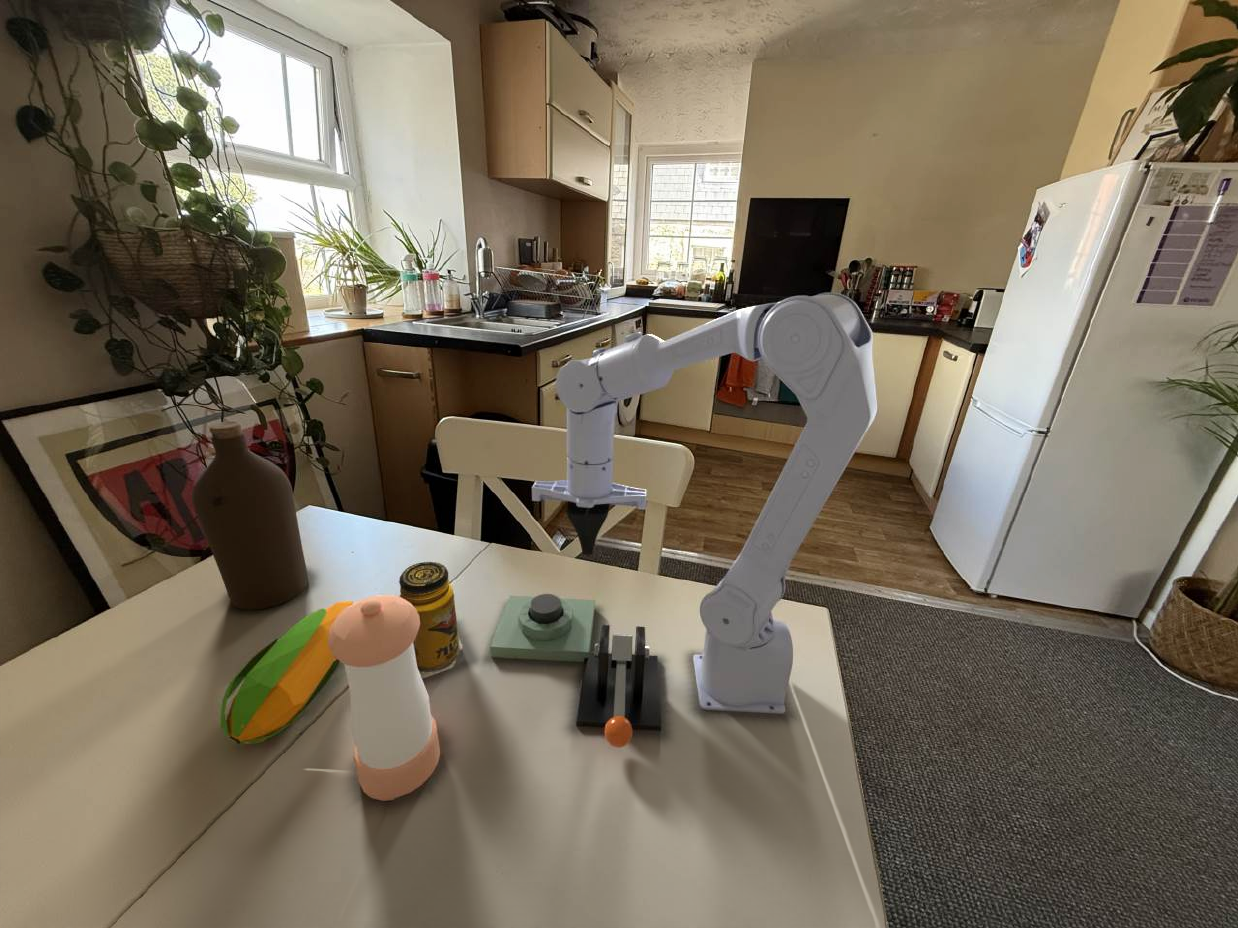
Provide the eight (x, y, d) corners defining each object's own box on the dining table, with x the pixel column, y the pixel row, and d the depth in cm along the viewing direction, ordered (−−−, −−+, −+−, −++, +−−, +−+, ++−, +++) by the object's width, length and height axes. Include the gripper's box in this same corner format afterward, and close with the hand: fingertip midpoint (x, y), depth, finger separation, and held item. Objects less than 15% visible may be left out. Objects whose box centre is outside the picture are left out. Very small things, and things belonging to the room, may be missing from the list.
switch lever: (631, 751, 49) (632, 744, 47) (603, 749, 49) (603, 742, 47) (634, 645, 57) (635, 634, 55) (609, 643, 57) (610, 633, 55)
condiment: (470, 661, 61) (461, 579, 56) (396, 690, 56) (380, 604, 51) (452, 625, 66) (443, 549, 61) (384, 649, 62) (369, 569, 57)
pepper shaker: (381, 728, 52) (350, 574, 44) (451, 732, 51) (431, 578, 44) (343, 798, 45) (298, 631, 37) (423, 803, 45) (394, 636, 37)
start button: (563, 604, 66) (563, 594, 65) (559, 625, 62) (559, 614, 62) (533, 603, 66) (533, 592, 66) (527, 623, 62) (527, 612, 62)
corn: (182, 702, 45) (315, 572, 63) (201, 760, 47) (322, 620, 66) (265, 711, 45) (373, 578, 63) (278, 768, 48) (378, 626, 66)
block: (594, 610, 70) (595, 590, 69) (588, 664, 61) (588, 641, 59) (510, 606, 70) (509, 585, 69) (491, 658, 61) (489, 636, 60)
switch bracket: (660, 732, 52) (666, 676, 49) (575, 727, 52) (576, 672, 49) (657, 661, 62) (661, 611, 59) (585, 657, 62) (585, 607, 59)
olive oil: (318, 595, 71) (279, 429, 61) (226, 624, 65) (166, 445, 55) (308, 560, 78) (271, 408, 69) (224, 583, 72) (171, 420, 63)
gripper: (523, 464, 58) (527, 562, 63) (647, 473, 57) (641, 572, 62) (538, 443, 64) (540, 534, 70) (649, 451, 63) (643, 542, 68)
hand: (588, 550), depth 66 cm, fingers closed
